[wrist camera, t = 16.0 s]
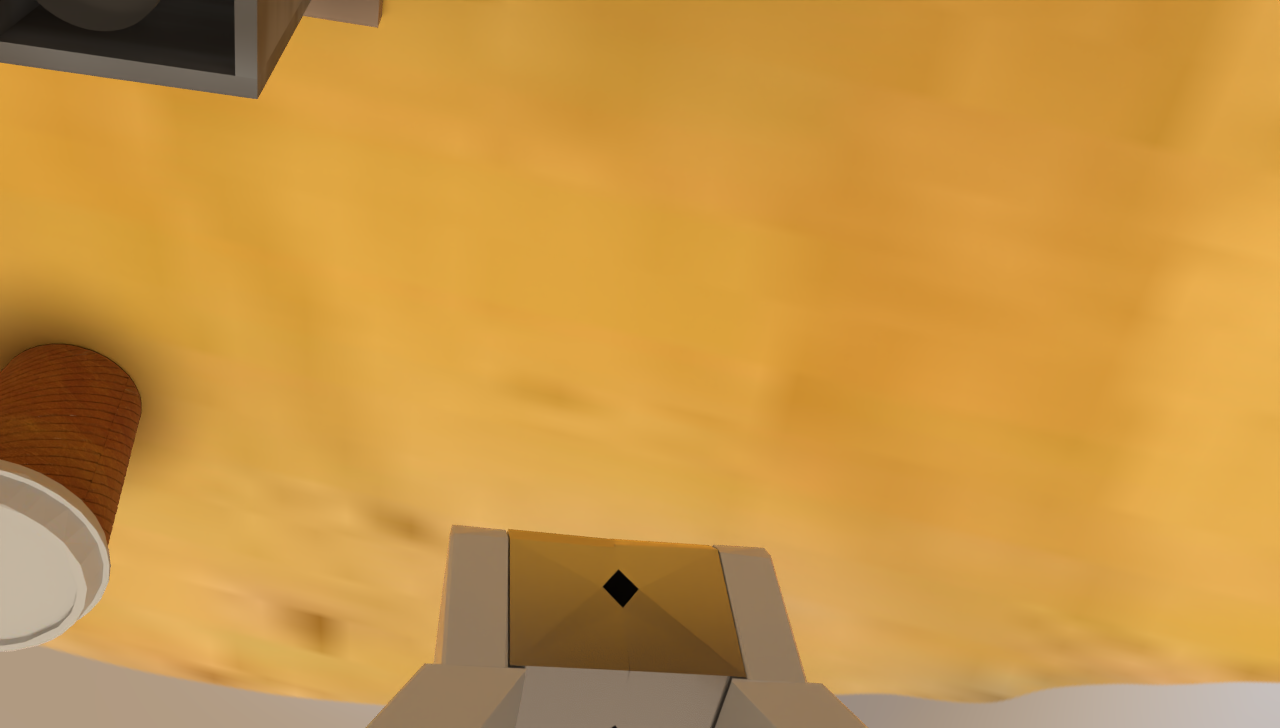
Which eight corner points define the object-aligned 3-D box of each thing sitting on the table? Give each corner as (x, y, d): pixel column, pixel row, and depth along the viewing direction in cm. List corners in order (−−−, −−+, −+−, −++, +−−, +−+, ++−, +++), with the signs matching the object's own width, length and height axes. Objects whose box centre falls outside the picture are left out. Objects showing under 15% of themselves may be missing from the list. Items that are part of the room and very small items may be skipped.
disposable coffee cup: (214, 385, 52) (145, 561, 43) (115, 502, 56) (30, 689, 46) (22, 276, 48) (-105, 443, 38) (-72, 409, 52) (-210, 594, 42)
